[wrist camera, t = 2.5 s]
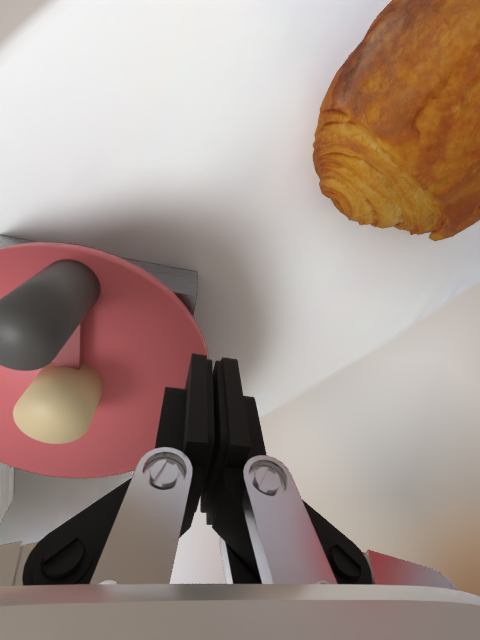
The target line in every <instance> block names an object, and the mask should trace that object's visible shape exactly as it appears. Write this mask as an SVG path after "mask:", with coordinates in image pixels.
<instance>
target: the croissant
mask: <svg viewBox="0 0 480 640" xmlns="http://www.w3.org/2000/svg"><path fill="white" fill-rule="evenodd" d="M313 147H314V153H313V161H314V166H315V170H316V173H317V174H318V176H319V178H320V183H319V185H320V188H321V192H322V194H323V195H325V196H326V197H328V198H331V200H332V201H333V203H334V205H335V207H336V208H337V209H338V210H339V211H340V212H341V213H343V214H344V215H346V216H347V217H348V219H349V220H352V221H357V222H359V225H368V224H371V225H373V226H374V227H380V228H387V227H393V226H394V227H396V228H398V229H400V230H407V231H410V235H413V234H418V235H419V234H423V233H428V232H432V233H431V234H430V235H429V238H430V239H431V240H433V241H438V240H442V239H445V238H448V237H451V236H454V235H455V234H457V233H459V232H461V231H462V230H464V229H466V228H468V227H469V226H471V225H473V224H474V223H476V222H477V221H478V220H480V0H392V1H391V2H390V3H389V4H388V5H387V6H386V7H385V8H384V10H383V11H382V12H381V13H380V14H379V15H378V16H377V18H376V19H375V20H374V22H373V23H372V25H371V26H370V28H369V30H368V32H367V34H366V35H365V37H364V39H363V41H362V42H361V43H360V44H359V45H358V47H357V48H356V49H355V50H354V51H353V52H352V53H351V54H350V55H349V57H348V59H347V60H346V61H345V63H344V64H343V65H342V67H341V68H340V69H339V70H338V72H337V73H336V75H335V77H334V79H333V81H332V83H331V85H330V87H329V89H328V91H327V93H326V95H325V98H324V100H323V102H322V105H321V108H320V115H319V119H318V126H317V129H316V132H315V141H314V143H313Z"/></svg>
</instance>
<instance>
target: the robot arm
mask: <svg viewBox="0 0 480 640" xmlns="http://www.w3.org/2000/svg"><path fill="white" fill-rule="evenodd" d="M200 496H201V512H202V513H206V515H207V525H212V528H213V529H214V530H215V531H216V532H217V533H218V535H219V536H220V550H221V555H222V561H223V566H224V573H225V578H226V584H169V583H170V577H171V573H172V569H173V564H174V559H175V554H176V549H177V545H178V540H179V538H180V537H181V536H182V535H183V534H184V533H185V532H186V531H187V530H188V529H189V528H190V527H191V523H192V520H193V516H194V513H195V512H196V510H197V506H198V503H199V499H200ZM0 640H480V597H479V596H476V595H473V594H470V593H466V592H462V591H458V590H457V589H456V587H455V586H454V585H453V584H452V583H451V581H450V580H448V579H447V578H446V577H445V576H444V575H442V574H441V573H440V572H438V571H436V570H434V569H431V568H428V567H425V566H422V565H418V564H415V563H411V562H408V561H405V560H401V559H398V558H394V557H391V556H388V555H384V554H381V553H378V552H374V551H371V550H368V551H367V552H366V553H363V552H361V550H360V549H359V548H358V547H357V546H356V545H355V544H354V543H353V542H352V541H351V540H349V539H348V538H347V537H346V536H345V535H343V534H342V533H341V532H340V531H338V530H337V529H336V528H335V527H334V526H333V525H331V524H330V523H329V522H328V521H327V520H326V519H324V518H323V517H322V516H321V515H320V514H319V513H317V512H316V511H315V510H314V509H313V508H311V507H310V506H309V505H308V504H307V503H305V502H304V501H303V500H302V499H301V496H300V494H299V492H298V489H297V487H296V485H295V482H294V480H293V478H292V475H291V474H290V472H289V470H288V468H287V467H286V466H285V465H283V463H282V462H280V461H278V460H277V459H275V458H273V457H270V456H267V455H266V451H265V446H264V441H263V436H262V431H261V426H260V421H259V417H258V412H257V407H256V402H255V399H254V397H248V396H243V392H242V386H241V380H240V373H239V367H238V361H237V359H229V358H222V359H221V361H216V362H215V366H214V370H213V371H212V360H208V359H207V355H201V354H194V353H192V355H191V360H190V365H189V370H188V375H187V380H186V385H185V389H181V388H173V387H165V391H164V397H163V403H162V409H161V415H160V421H159V426H158V432H157V438H156V444H155V449H154V450H151V451H149V452H148V453H146V454H145V455H144V456H143V457H142V458H141V460H140V461H139V463H138V465H137V467H136V470H135V472H134V475H133V477H132V478H131V479H129V480H128V481H126V482H125V483H123V484H122V485H120V486H119V487H117V488H116V489H114V490H113V491H111V492H110V493H108V494H107V495H105V496H104V497H102V498H101V499H99V500H98V501H96V502H95V503H93V504H92V505H91V506H89V507H88V508H86V509H85V510H83V511H82V512H80V513H79V514H77V515H76V516H74V517H73V518H71V519H70V520H68V521H67V522H65V523H64V524H62V525H61V526H59V527H58V528H56V529H55V530H53V531H52V532H50V533H49V534H48V535H46V536H45V537H44V538H43V539H42V540H41V541H39V542H37V543H32V544H27V545H22V541H20V542H15V543H10V544H5V545H0Z"/></svg>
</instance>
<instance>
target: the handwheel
mask: <svg viewBox="0 0 480 640" xmlns="http://www.w3.org/2000/svg"><path fill="white" fill-rule="evenodd" d="M192 353H194V354H201V355H207V359H208V360H209V357H208V351H207V347H206V344H205V341H204V338H203V335H202V333H201V331H200V329H199V327H198V325H197V323H196V321H195V319H194V317H193V316H192V315H191V313H190V312H189V310H188V309H187V307H186V306H185V305H184V304H183V303H182V301H181V300H180V299H179V298H178V297H177V296H176V295H175V294H174V293H173V292H172V291H171V290H170V289H169V288H168V287H166V286H165V285H164V284H163V283H162V282H161V281H159V280H158V279H157V278H155V277H154V276H152V275H151V274H149V273H148V272H146V271H145V270H143V269H142V268H140V267H138V266H136V265H134V264H132V263H130V262H128V261H126V260H124V259H122V258H120V257H117V256H114V255H112V254H109V253H106V252H104V251H101V250H97V249H93V248H89V247H85V246H81V245H73V244H66V243H58V242H33V243H25V244H16V245H11V246H7V247H3V248H0V462H1V463H3V464H6V465H9V466H12V467H15V468H18V469H21V470H25V471H28V472H32V473H36V474H42V475H47V476H53V477H63V478H97V477H106V476H112V475H118V474H122V473H126V472H130V471H133V470H136V467H137V465H138V463H139V461H140V460H141V458H142V457H143V456H144V455H145V454H146V453H148V452H149V451H151V450H154V449H155V444H156V438H157V432H158V426H159V421H160V415H161V409H162V403H163V397H164V391H165V387H173V388H181V389H185V385H186V380H187V375H188V370H189V365H190V360H191V355H192Z"/></svg>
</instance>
